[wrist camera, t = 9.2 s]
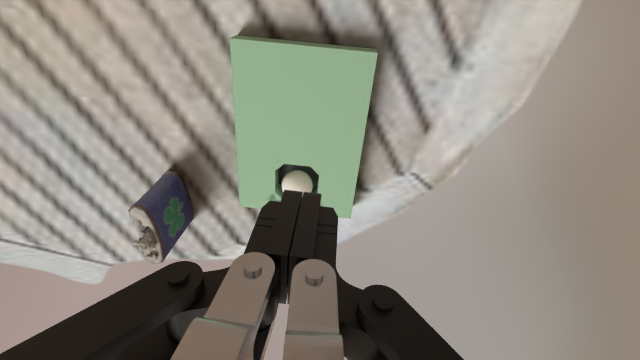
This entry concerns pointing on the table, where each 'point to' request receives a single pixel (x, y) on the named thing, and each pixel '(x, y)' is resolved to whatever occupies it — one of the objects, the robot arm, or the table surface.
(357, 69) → the board
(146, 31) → the table surface
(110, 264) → the table surface
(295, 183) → the ball
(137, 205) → the flask
